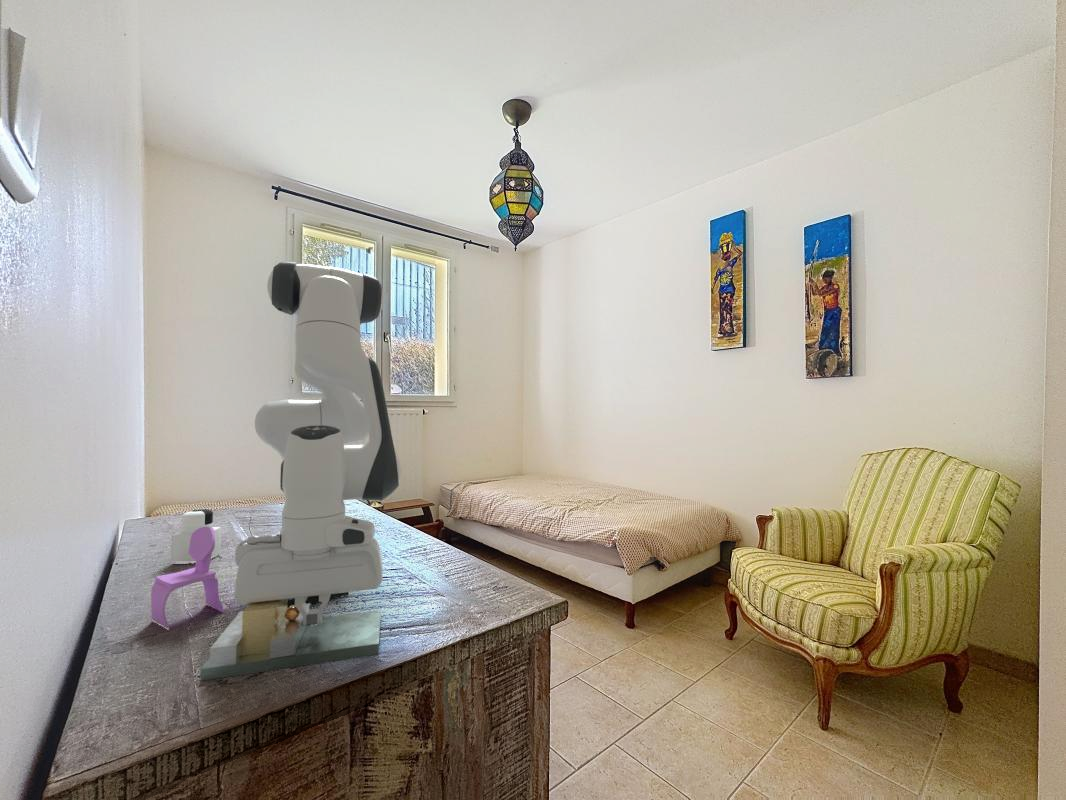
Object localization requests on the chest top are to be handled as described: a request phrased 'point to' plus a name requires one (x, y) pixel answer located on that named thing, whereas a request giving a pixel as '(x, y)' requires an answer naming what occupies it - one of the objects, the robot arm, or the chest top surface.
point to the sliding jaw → (288, 633)
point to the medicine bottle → (189, 525)
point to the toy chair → (189, 576)
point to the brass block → (261, 625)
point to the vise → (316, 646)
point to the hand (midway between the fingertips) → (312, 623)
